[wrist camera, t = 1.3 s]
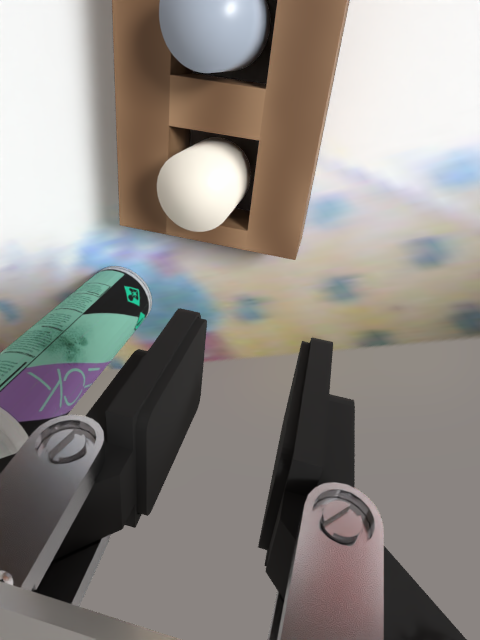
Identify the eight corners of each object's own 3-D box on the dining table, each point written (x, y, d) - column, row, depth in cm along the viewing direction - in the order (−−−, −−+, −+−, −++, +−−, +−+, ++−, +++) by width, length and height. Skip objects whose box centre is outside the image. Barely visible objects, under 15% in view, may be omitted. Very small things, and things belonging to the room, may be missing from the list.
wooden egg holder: (409, -296, 18) (421, -374, 15) (301, 238, 31) (295, 259, 28) (142, -304, 20) (99, -377, 17) (143, 208, 33) (119, 225, 29)
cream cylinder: (255, 143, 27) (237, 158, 23) (246, 213, 29) (229, 238, 25) (186, 131, 27) (157, 144, 23) (183, 201, 29) (156, 224, 25)
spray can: (104, 323, 39) (-83, 520, 23) (83, 267, 37) (-144, 442, 20) (159, 322, 38) (3, 530, 21) (142, 263, 35) (-51, 448, 18)
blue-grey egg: (276, -22, 22) (258, -40, 18) (264, 76, 25) (246, 79, 21) (194, -32, 23) (159, -51, 19) (189, 65, 25) (158, 66, 21)
